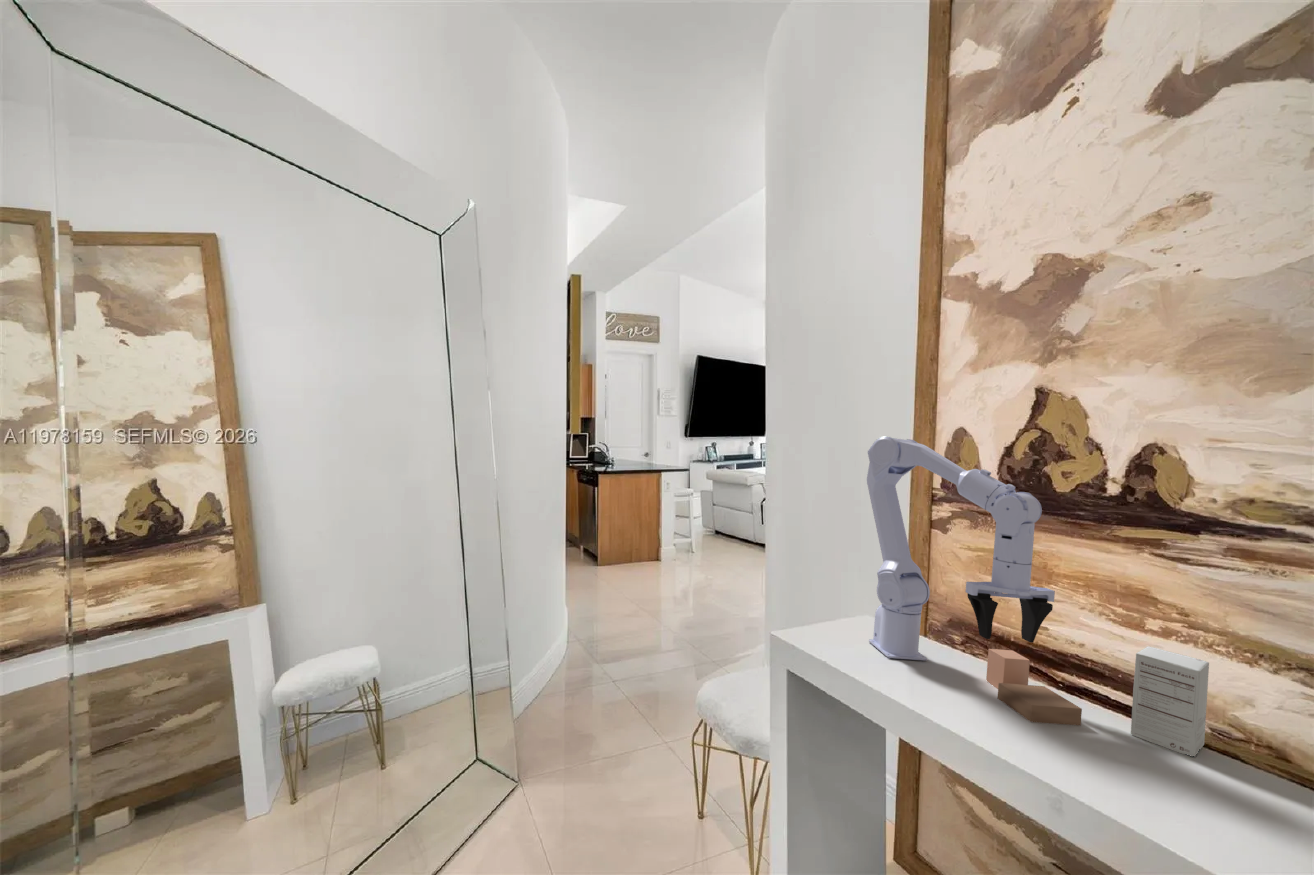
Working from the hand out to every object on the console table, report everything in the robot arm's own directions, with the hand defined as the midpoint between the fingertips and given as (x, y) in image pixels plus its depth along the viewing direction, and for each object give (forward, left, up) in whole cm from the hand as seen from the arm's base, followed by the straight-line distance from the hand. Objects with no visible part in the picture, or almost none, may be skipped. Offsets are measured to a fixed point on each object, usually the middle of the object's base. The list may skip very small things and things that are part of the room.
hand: (1006, 638), depth 96 cm
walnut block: (+6, +2, -10) cm, 12 cm away
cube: (-3, +3, -10) cm, 10 cm away
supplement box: (+13, +17, -10) cm, 23 cm away
